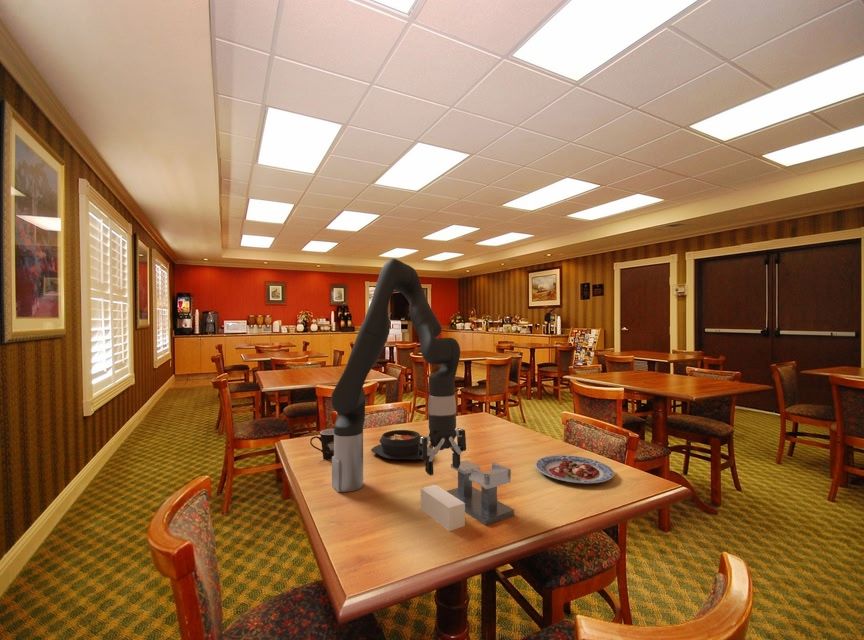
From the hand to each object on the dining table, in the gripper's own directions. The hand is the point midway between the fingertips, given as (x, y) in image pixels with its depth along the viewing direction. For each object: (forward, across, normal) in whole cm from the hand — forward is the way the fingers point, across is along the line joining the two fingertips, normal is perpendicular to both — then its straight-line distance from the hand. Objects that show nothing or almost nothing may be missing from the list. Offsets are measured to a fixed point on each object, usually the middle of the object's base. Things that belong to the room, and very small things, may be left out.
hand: (443, 470), depth 107 cm
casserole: (+12, -14, -50) cm, 53 cm away
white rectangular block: (+12, +1, 0) cm, 13 cm away
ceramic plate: (+13, -55, 0) cm, 57 cm away
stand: (+12, -11, 0) cm, 17 cm away
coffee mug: (+12, +11, -64) cm, 66 cm away
